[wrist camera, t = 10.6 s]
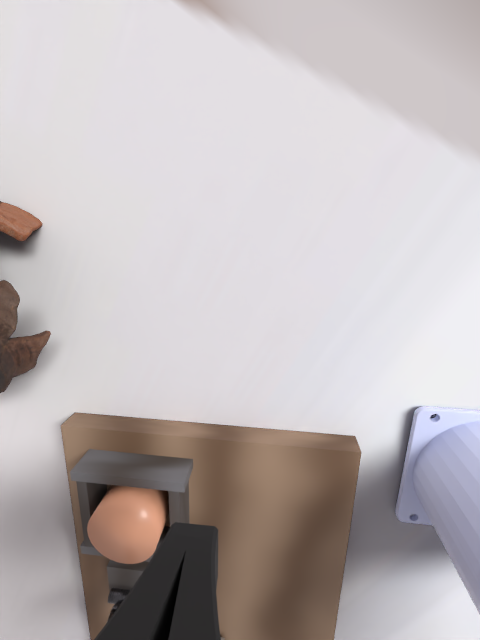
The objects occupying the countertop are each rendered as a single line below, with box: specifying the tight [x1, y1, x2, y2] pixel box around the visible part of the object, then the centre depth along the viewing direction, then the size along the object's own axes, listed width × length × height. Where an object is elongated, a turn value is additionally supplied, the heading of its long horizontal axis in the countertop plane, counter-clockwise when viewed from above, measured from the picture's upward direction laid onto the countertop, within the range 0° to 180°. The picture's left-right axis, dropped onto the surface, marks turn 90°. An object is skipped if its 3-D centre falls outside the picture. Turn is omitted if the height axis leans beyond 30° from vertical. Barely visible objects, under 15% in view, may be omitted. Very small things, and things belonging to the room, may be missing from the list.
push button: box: [87, 485, 169, 564], centre depth 19 cm, size 4×4×2 cm
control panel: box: [61, 413, 361, 640], centre depth 22 cm, size 18×23×4 cm
